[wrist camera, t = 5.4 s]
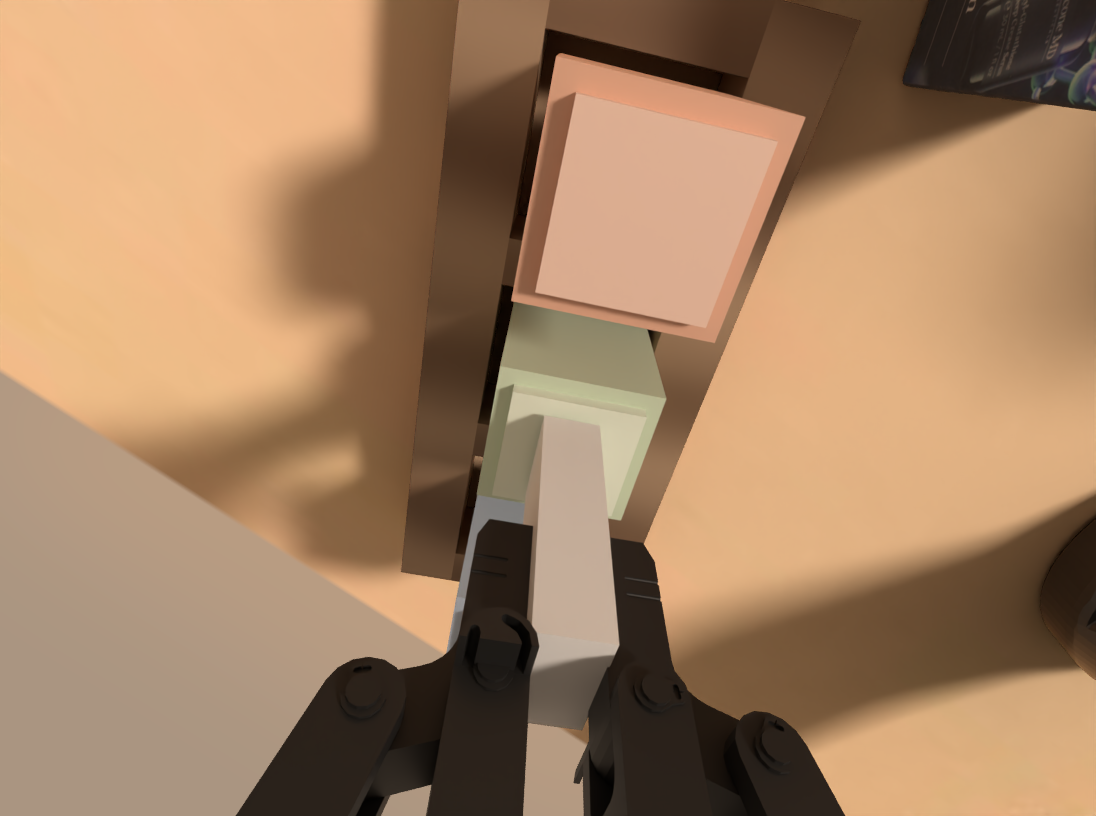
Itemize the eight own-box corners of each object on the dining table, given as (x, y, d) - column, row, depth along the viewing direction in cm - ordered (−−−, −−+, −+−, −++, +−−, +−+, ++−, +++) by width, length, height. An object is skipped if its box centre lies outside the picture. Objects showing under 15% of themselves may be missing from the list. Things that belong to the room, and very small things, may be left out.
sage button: (517, 285, 20) (498, 373, 15) (641, 311, 20) (668, 406, 15) (497, 393, 22) (474, 503, 17) (609, 414, 23) (621, 529, 17)
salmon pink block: (560, 52, 15) (555, 56, 9) (726, 93, 15) (814, 119, 10) (528, 225, 17) (509, 308, 12) (672, 257, 18) (719, 351, 12)
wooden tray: (482, -62, 16) (467, -83, 14) (817, 24, 17) (860, 21, 14) (416, 525, 28) (401, 572, 26) (612, 558, 29) (617, 607, 27)
